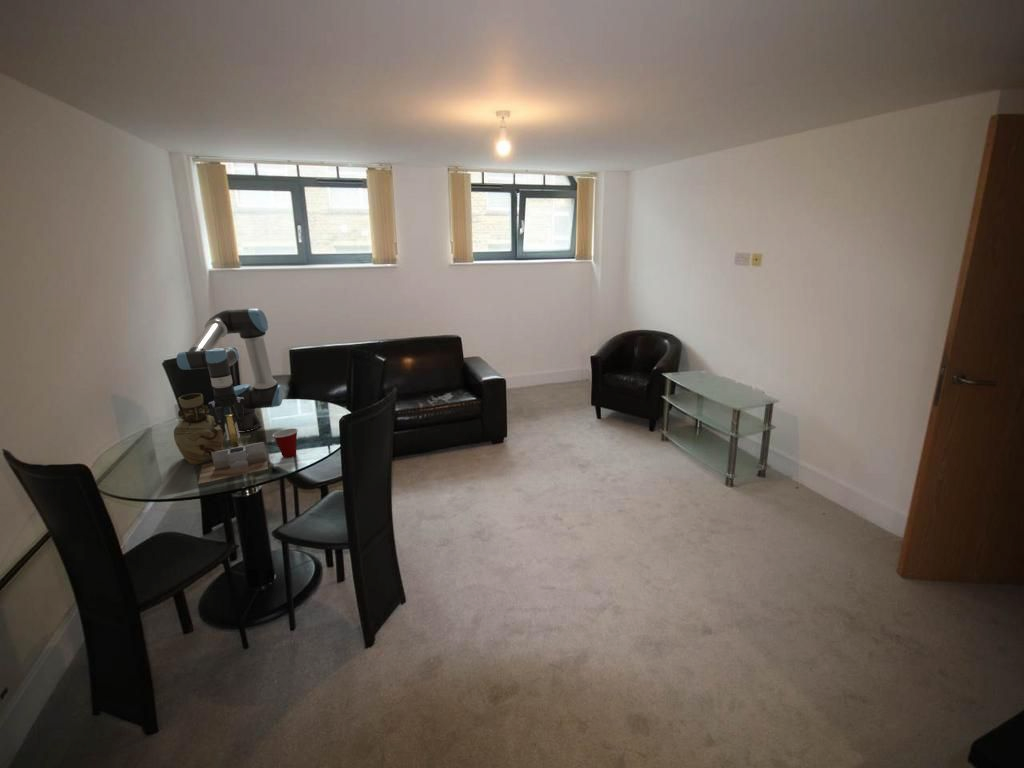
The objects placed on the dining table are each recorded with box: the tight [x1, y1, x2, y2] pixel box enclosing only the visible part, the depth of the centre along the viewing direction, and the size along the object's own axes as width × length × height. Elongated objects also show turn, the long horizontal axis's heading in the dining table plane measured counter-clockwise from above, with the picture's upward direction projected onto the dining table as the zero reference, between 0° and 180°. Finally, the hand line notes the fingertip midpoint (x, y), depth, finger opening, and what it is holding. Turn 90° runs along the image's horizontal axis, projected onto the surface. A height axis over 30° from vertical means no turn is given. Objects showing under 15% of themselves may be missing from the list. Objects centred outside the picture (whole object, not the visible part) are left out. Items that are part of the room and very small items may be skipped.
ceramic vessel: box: [173, 392, 226, 465], centre depth 223 cm, size 19×21×30 cm
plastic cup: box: [271, 427, 298, 459], centre depth 225 cm, size 11×11×12 cm
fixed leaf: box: [230, 441, 268, 471], centre depth 215 cm, size 7×14×8 cm, turn 118°
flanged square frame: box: [211, 445, 248, 469], centre depth 212 cm, size 7×13×8 cm, turn 118°
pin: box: [225, 413, 241, 448], centre depth 209 cm, size 3×3×14 cm
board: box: [197, 451, 269, 485], centre depth 214 cm, size 20×26×1 cm
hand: (233, 437), depth 210 cm, fingers closed on pin, 3 cm apart
